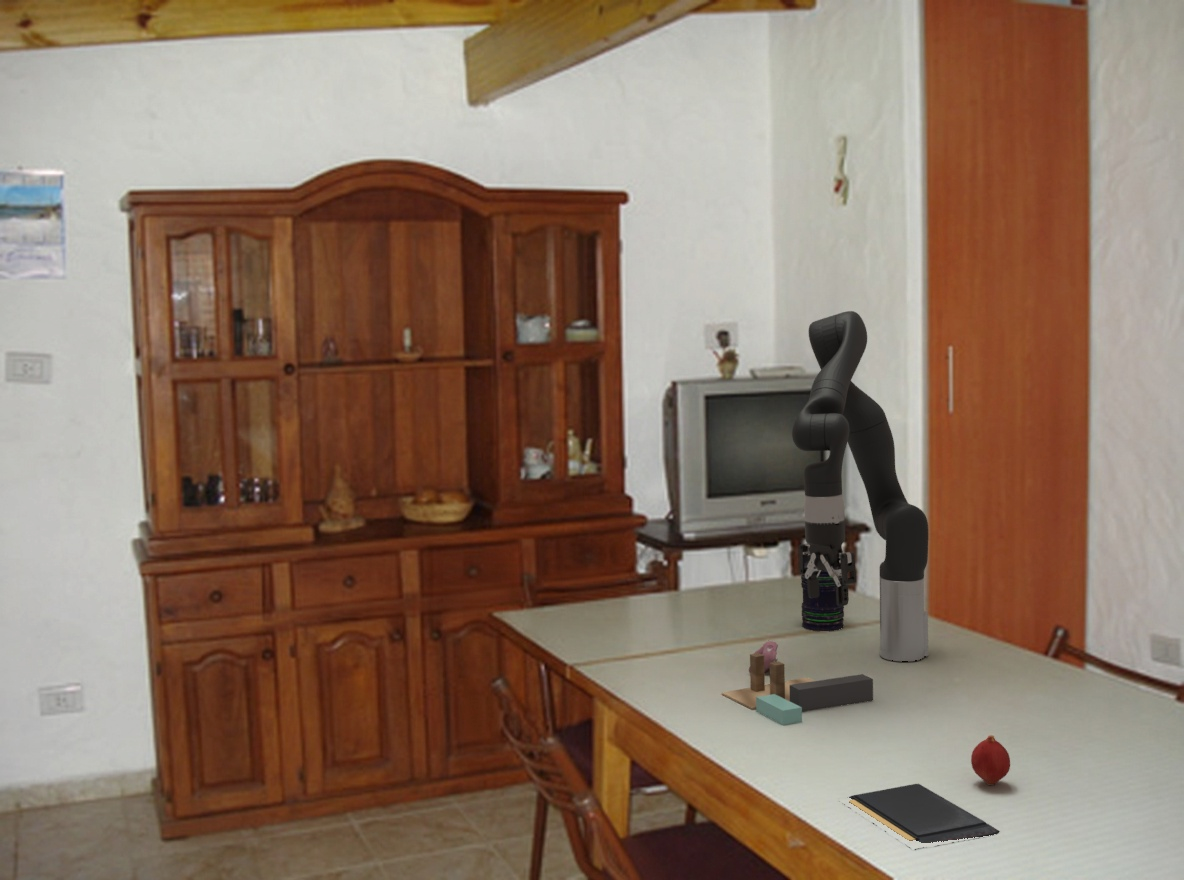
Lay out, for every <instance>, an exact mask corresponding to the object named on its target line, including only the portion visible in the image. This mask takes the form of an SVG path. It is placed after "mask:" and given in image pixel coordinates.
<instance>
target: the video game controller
mask: <svg viewBox="0 0 1184 880" xmlns="http://www.w3.org/2000/svg"><path fill="white" fill-rule="evenodd" d="M778 647H779V644H778V643H777V642H775V641H773V640H770V639H769V640H768V641H766V642H764V643H763V645H762V646H761V647H760V648H759V649H758V650H756V651H755V652H754V653H753V654H756V653H760V654H762V655H764V672H766V673H767V672H768V670H770V663H773V662H779V661H778V658H777V654H778V651H777V650H778ZM748 673H749V674H750V666H749V667H748Z"/></svg>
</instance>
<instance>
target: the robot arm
mask: <svg viewBox="0 0 1184 880" xmlns="http://www.w3.org/2000/svg"><path fill="white" fill-rule="evenodd" d="M808 338H809V342H810V346H811V350H812V352H813V354H814V357H815V359H816V362H817V364H818V366H819V369H820V370H819V372H818V373H817V375H816V377H815V378H814V380H813V382H812V385H811V389H810V394H809V397H808V401H807V402H806V404H805V405H804V406H803V408H802V409H801V410H800V412H799V413H798V415H797V416H796V417H795V419H794V422H793V425H792V429H791V430H792V431H791V437H792V441H793V444H794V445H795V447H797V449H799V450H801V451H804V452H820V451H821V452H824V451H826V452H827V451H828V452H829V456H828V458H827V459H825V460H823V461H819V462H818V461H817V462H814V463H811V464H807V466H805V468H804V471H803V480H804V481H803V482H804V505H803V511H804V514H803V515H804V535H805V539H804V540H805V542H806V543H802V544H799V545H798V573H799V574H800V575H801V574H804V575H805V578H806V579H807V590H808V597H809V598H817V597H819V578H817V577H818V576H819V574H820V572H821V570H824V571H825V572H828V573H829V575H830V576H831V577H833V579H834V581H835V583H836V585H837V587H836V603H837V605H838V606H844V607H845V606H848V604H849V602H850V601H849V599H850V597H849V586H850V585H852V584H854V585H855V584H856V583H857V572H856V570H857V569H856V560H855V558H856V557H855V553H854V552H853V551H847V552H844V551H843V548H842V545H843V544H844V543H845V541H846V521H845V519H846V518H845V504H844V503H845V502H844V498H843V497H844V495H843V481H842V480H843V479H842V478H843V477H842V476H843V475H842V474H843V473H842V472H843V462H844V458H845V457H844V456H845V453H846V449H847V445H848V447H849V449H850V451H851V454H852V456H853V459H854V462H855V465H856V468H857V470H858V473H859V475H860V478H861V480H862V482H863V484H864V485H863V486H864V488H865V491H866V494H867V499H868V504H869V509H870V512H871V517H872V521H873V524H874V527H875V531H876V532H877V534H878V535H879V536H880V537H881V538H882V539H883V540H884V541H885V558H884V560H883V561H882V562H881V563H880V565H879V655H880V657H881V658H883V659H884V660H888V661H892V660H893V662H902V661H908V662H915V660H917V661H920V659H921V660H923V659H924V658H925V657H924V656H926V657H929V613H928V612H927V611H925V570H926V567H927V564H928V558H929V557H928V556H929V535H930V533H929V523H928V519H927V516H926V514H925V513H924V510H922V509H920V507H917V505H913V504H911V503H909V502H908V500H907V498H906V496H905V494H904V491H903V489H902V486H901V485H900V482H899V479H898V475H897V471H896V470H897V469H896V451H895V450H896V449H895V447H896V446H895V441H894V440H895V439H894V436H893V432H892V429H891V426H890V424H889V421H888V418H887V416H886V413H885V411H884V409H883V408H882V406H881V405H880V404H879V403H878V402H877V401H875V400H874V399H873V398H872V397H871V396H869V395H868V394H867V393H866V392H864V391H863V390H862V389H861V388H859V386H857V385H856V384H855V383H854V382H853V381H852V379H853V376H854V375H855V373H856V371H857V369H858V367H859V364H860V362H861V360H862V357H863V355H864V354H865V352H866V348H867V344H868V332H867V327H866V325H865V322H864V319H863V318H862V317H861V316H860V313H859V314H858V313H857V312H856V311H853V310H849V311H843V312H840V313H837V314H833V315H830V316H828V317H827V316H826V317H823V318H820V319H817V320H814V321H812V322H811V323H810V324H809V326H808ZM805 562H807V567H805ZM838 567H839V570H837V569H838ZM848 573H849V575H848ZM839 576H841V577H842V580H840V578H839ZM922 658H923V659H922Z"/></svg>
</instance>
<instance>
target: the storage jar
mask: <svg viewBox="0 0 1184 880" xmlns="http://www.w3.org/2000/svg"><path fill="white" fill-rule="evenodd" d="M805 567H807V562H805ZM837 570H839V567H838V569H837ZM817 578H819V597H817V598H809V597H808V590H807V579H806V578H805V575H804V574H800V580H801V582H800V585H801V588H802V603H801V620H802V624H801V627H802V629H805V630H807V631H811V630H813V632H820V631H829V632H835V631H834V630H837V631H840V630H842V629H844V627H843V626H844V617H845V611H844V610H845V606H838V605H837V603H836V587H837V585H836V583H835V581H834V579H833V577H831V576H830V575H829V573H828V572H825V571H824V570H821V572H820V574H819V576H818V577H817ZM839 578H840V580H842V577H841V576H839ZM841 628H842V629H841ZM839 629H840V630H839Z"/></svg>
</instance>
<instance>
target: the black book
mask: <svg viewBox="0 0 1184 880" xmlns="http://www.w3.org/2000/svg"><path fill="white" fill-rule="evenodd" d="M848 797H849V798H851V799H852V800H850V801H849V803H851V804H853V805H854V806H856V807H858V808H859V809H860V810H862V811H864V812H865V813H867V814H868V815H870V816H871V817H873V818H875V819H876V820H877V821H879V822H881V823H882V824H883V825H886V826H887V827H888V828H890V829H891V830H893V831H894V832H896V833H897V834H899V835H901V836H902V837H904V838H905V839H907V840H909V841H913V840H916V841H919V842H921V843H931V842H932V843H933V842H937V841H938V842H939V841H941V842H942V841H943V842H944V841H948V840H957V839H958V840H959V839H963V838H964V839H965V838H967V839H968V838H973V837H974V838H975V837H983V836H988V837H991V835H992V836H995V835H994V834H996V835H998V834H1000V833H1001V831H1000V830H999V829H997V828H995V827H994V826H992V825H990V824H989V823H988V822H986V821H984V820H983V819H982V818H980V817H977V816H976V815H974V814H973V813H970V812H968V811H967V810H965V809H964V808H962V807H960V806H958V805H956V804H954V803H953V802H951V801H949V800H948V799H946V798H944V797H943V796H940V795H939V794H937V793H936V792H934V791H932V790H930V789H929V788H927V787H925V786H923V785H922V784H920V783H913V784H908V785H907V784H906V785H902V786H901V785H900V786H897V787H892V788H885V789H881V790H875V791H870V792H869V791H868V792H862V793H858V794H853V795H850V796H848ZM999 832H1000V833H999ZM989 835H990V836H989ZM983 838H984V837H983Z"/></svg>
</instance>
